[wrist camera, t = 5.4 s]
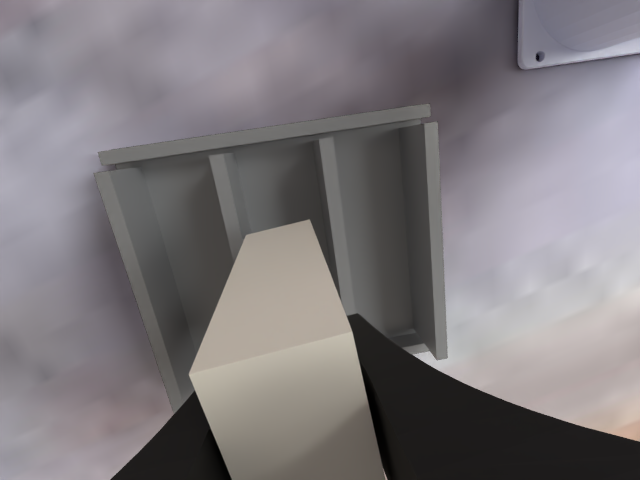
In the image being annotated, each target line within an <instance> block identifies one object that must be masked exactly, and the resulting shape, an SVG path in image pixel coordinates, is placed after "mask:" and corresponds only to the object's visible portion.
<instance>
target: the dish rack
mask: <svg viewBox="0 0 640 480" xmlns="http://www.w3.org/2000/svg"><path fill="white" fill-rule="evenodd" d="M426 117H431V112H430V103H429V104H422V105H413V106H406V107H399V108H392V109H386V110H379V111H372V112H365V113H358V114H351V115H345V116H338V117H331V118H324V119H317V120H310V121H304V122H297V123H290V124H283V125H276V126H270V127H263V128H256V129H249V130H242V131H235V132H229V133H222V134H215V135H208V136H201V137H194V138H188V139H181V140H174V141H167V142H160V143H153V144H147V145H140V146H133V147H126V148H119V149H113V150H109V151H102V152H98V155H99V158H100V161H101V164H102V166H103V165H114V164H115V166H116V169H117V170H112V171H105V172H98V173H94V176H95V179H96V182H97V185H98V188H99V191H100V194H101V197H102V200H103V203H104V206H105V209H106V212H107V215H108V218H109V221H110V224H111V227H112V230H113V233H114V236H115V239H116V242H117V245H118V248H119V251H120V254H121V257H122V260H123V263H124V266H125V269H126V272H127V275H128V278H129V281H130V284H131V287H132V290H133V293H134V296H135V299H136V302H137V305H138V308H139V311H140V314H141V317H142V320H143V323H144V326H145V329H146V332H147V335H148V338H149V341H150V344H151V347H152V350H153V353H154V356H155V359H156V362H157V365H158V368H159V371H160V374H161V377H162V380H163V383H164V386H165V389H166V392H167V395H168V398H169V401H170V404H171V406H172V409H173V412H174V413H176V412H177V410H178V409H179V408H180V407H181V406H182V405H183V404H184V402H185V401H186V400H187V399H188V398H189V397H190V395H191V394H192V393H193V392H194V391H195V389H194V386H193V384H192V381H191V379H190V377H189V372H190V370H191V367H192V365H193V363H194V360H195V358H196V355H197V353H198V350H199V348H200V346H201V343H202V341H203V338H204V336H205V333H206V331H207V329H208V326H209V324H210V321H211V319H212V316H213V314H214V312H215V309H216V307H217V304H218V302H219V299H220V297H221V295H222V292H223V290H224V287H225V285H226V282H227V280H228V278H229V275H230V273H231V270H232V268H233V265H234V263H235V261H236V258H237V256H238V253H239V251H240V248H241V246H242V244H243V241H244V239H245V236H246V235H248V234H252V233H256V232H260V231H264V230H268V229H272V228H276V227H280V226H285V225H289V224H293V223H297V222H301V221H305V220H309V219H310V221H311V224H312V226H313V229H314V232H315V234H316V237H317V240H318V242H319V245H320V248H321V250H322V253H323V255H324V258H325V261H326V263H327V266H328V269H329V271H330V274H331V277H332V279H333V282H334V284H335V287H336V290H337V292H338V295H339V298H340V300H341V303H342V306H343V308H344V311H345V314H346V316H348V315H352V314H356V313H358V314H360V315H361V316H362V317H363V318H365V319H366V320H367V321H368V322H369V323H370V324H371V325H372V326H374V327H375V328H376V329H377V330H379V331H380V332H381V333H382V334H384V335H385V336H386V337H387V338H389V339H390V340H392V341H393V342H394V343H396V344H397V345H398V346H400V347H401V348H403V349H404V350H406V351H407V352H409V353H410V354H417V353H422V352H427V351H430V352H431V353H432V354H433V356H434V357H435V359H436V360H441V359H446V358H448V355H447V331H446V307H445V283H444V259H443V235H442V211H441V187H440V163H439V139H438V121H437V122H430V123H424V124H421V119H422V118H426Z"/></svg>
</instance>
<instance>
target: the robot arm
mask: <svg viewBox="0 0 640 480" xmlns="http://www.w3.org/2000/svg"><path fill="white" fill-rule="evenodd" d="M639 53H640V0H519V19H518V65H519V67H520V68H522V69H525V70H527V69H534V68H541V67H548V66H555V65H562V64H569V63H576V62H583V61H590V60H597V59H604V58H611V57H618V56H625V55H632V54H639ZM536 54H538V55H539V61H537V60H536V58H535V57H536ZM347 319H348V321H349V324H350V327H351V329H352V332H353V337H354V341H355V346H356V350H357V355H358V359H359V364H360V368H361V373H362V377H363V382H364V386H365V391H366V395H367V400H368V404H369V409H370V413H371V417H372V422H373V426H374V431H375V435H376V440H377V444H378V449H379V453H380V458H381V462H382V467H383V469H384V472H385V474H386V477H387V479H388V480H640V442H638V441H635V440H631V439H627V438H623V437H620V436H616V435H612V434H608V433H604V432H601V431H597V430H593V429H589V428H585V427H582V426H578V425H575V424H572V423H569V422H565V421H562V420H559V419H556V418H553V417H550V416H547V415H544V414H541V413H538V412H535V411H532V410H529V409H526V408H523V407H521V406H518V405H515V404H512V403H510V402H507V401H504V400H502V399H500V398H497V397H495V396H492V395H490V394H487V393H485V392H482V391H480V390H478V389H475V388H473V387H471V386H469V385H466V384H464V383H462V382H460V381H458V380H456V379H454V378H452V377H450V376H448V375H446V374H444V373H442V372H440V371H438V370H436V369H435V368H433V367H431V366H429V365H428V364H426V363H424V362H423V361H421V360H420V359H418V358H416V357H415V356H413V355H412V354H410V353H409V352H407V351H406V350H404V349H403V348H401V347H400V346H398V345H397V344H396V343H394V342H393V341H392V340H390V339H389V338H387V337H386V336H385V335H384V334H382V333H381V332H380V331H379V330H377V329H376V328H375V327H374V326H372V325H371V324H370V323H369V322H368V321H367V320H366V319H365V318H363V317H362V316H361V315H360V314H358V313H356V314H352V315H348V316H347ZM111 480H232V479H231V476H230V474H229V471H228V469H227V466H226V464H225V462H224V459H223V457H222V454H221V452H220V449H219V447H218V445H217V442H216V440H215V437H214V435H213V432H212V430H211V428H210V425H209V423H208V420H207V418H206V415H205V413H204V411H203V408H202V406H201V403H200V401H199V398H198V396H197V394H196V391H194V392H193V393H192V394H191V395H190V397H189V398H188V399H187V400H186V401H185V402H184V404H183V405H182V406H181V407H180V408H179V409H178V410H177V412H176V413H175V414H174V415H173V416H172V417H171V418H170V420H169V421H168V422H167V423H166V424H165V425H164V426H163V427H162V429H161V430H160V431H159V432H158V433H157V434H156V435H155V436H154V437H153V438H152V439H151V440H150V441H149V442H148V443H147V444H146V445H145V447H144V448H143V449H142V450H141V451H140V452H139V453H138V454H136V455H135V456H134V457H133V458H132V459H131V460H130V461H129V462H128V463H127V464H126V465H125V466H124V467H123V468H122V469H121V470H120V471H119V472H118V473H117V474H116V475H115V476H114V477H113V478H112V479H111Z"/></svg>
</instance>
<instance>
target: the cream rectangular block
mask: <svg viewBox="0 0 640 480" xmlns="http://www.w3.org/2000/svg"><path fill="white" fill-rule="evenodd" d="M189 377H190V379H191V381H192V384H193V386H194V389H195V391H196V394H197V396H198V398H199V401H200V403H201V406H202V408H203V411H204V413H205V415H206V418H207V420H208V423H209V425H210V428H211V430H212V432H213V435H214V437H215V440H216V442H217V445H218V447H219V449H220V452H221V454H222V457H223V459H224V462H225V464H226V466H227V469H228V471H229V474H230V476H231V479H232V480H385V476H384V471H383V467H382V462H381V458H380V453H379V449H378V444H377V440H376V435H375V431H374V426H373V422H372V417H371V413H370V409H369V404H368V400H367V395H366V391H365V386H364V382H363V377H362V373H361V368H360V364H359V359H358V355H357V350H356V346H355V341H354V337H353V332H352V329H351V327H350V324H349V321H348V319H347V316H346V314H345V311H344V308H343V306H342V303H341V300H340V298H339V295H338V292H337V290H336V287H335V284H334V282H333V279H332V277H331V274H330V271H329V269H328V266H327V263H326V261H325V258H324V255H323V253H322V250H321V248H320V245H319V242H318V240H317V237H316V234H315V232H314V229H313V226H312V224H311V221H310V219H309V220H305V221H301V222H297V223H293V224H289V225H285V226H280V227H276V228H272V229H268V230H264V231H260V232H256V233H252V234H248V235H246V236H245V239H244V241H243V244H242V246H241V248H240V251H239V253H238V256H237V258H236V261H235V263H234V265H233V268H232V270H231V273H230V275H229V278H228V280H227V282H226V285H225V287H224V290H223V292H222V295H221V297H220V299H219V302H218V304H217V307H216V309H215V312H214V314H213V316H212V319H211V321H210V324H209V326H208V329H207V331H206V333H205V336H204V338H203V341H202V343H201V346H200V348H199V350H198V353H197V355H196V358H195V360H194V363H193V365H192V367H191V370H190V372H189Z"/></svg>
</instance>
